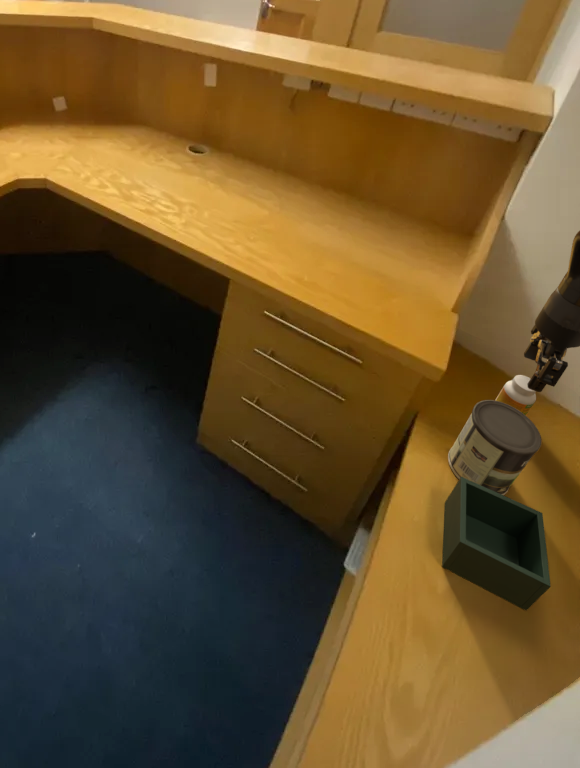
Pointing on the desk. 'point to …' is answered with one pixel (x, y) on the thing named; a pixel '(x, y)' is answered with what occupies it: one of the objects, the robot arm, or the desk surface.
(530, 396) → the supplement bottle
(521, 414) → the coffee can
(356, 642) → the desk surface
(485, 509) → the bin
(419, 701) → the desk surface
